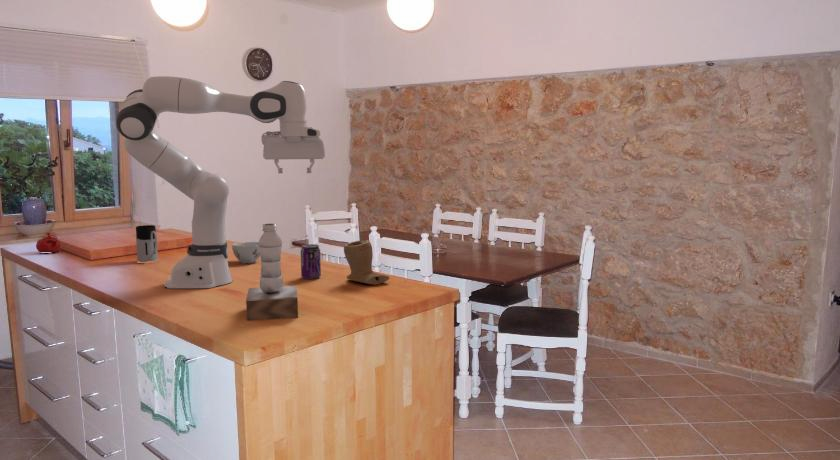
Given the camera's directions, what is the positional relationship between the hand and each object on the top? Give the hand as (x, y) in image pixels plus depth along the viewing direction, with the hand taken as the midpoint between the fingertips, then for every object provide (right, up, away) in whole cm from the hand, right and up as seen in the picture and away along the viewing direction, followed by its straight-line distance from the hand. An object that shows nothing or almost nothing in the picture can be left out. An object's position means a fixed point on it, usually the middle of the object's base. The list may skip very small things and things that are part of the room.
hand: (294, 173), depth 205 cm
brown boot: (+22, -38, +12) cm, 46 cm away
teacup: (-31, -33, +50) cm, 67 cm away
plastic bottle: (-1, -37, -27) cm, 46 cm away
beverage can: (+2, -37, +20) cm, 42 cm away
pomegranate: (-127, -30, +74) cm, 150 cm away
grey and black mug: (-70, -33, +50) cm, 92 cm away
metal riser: (-1, -43, -26) cm, 50 cm away
